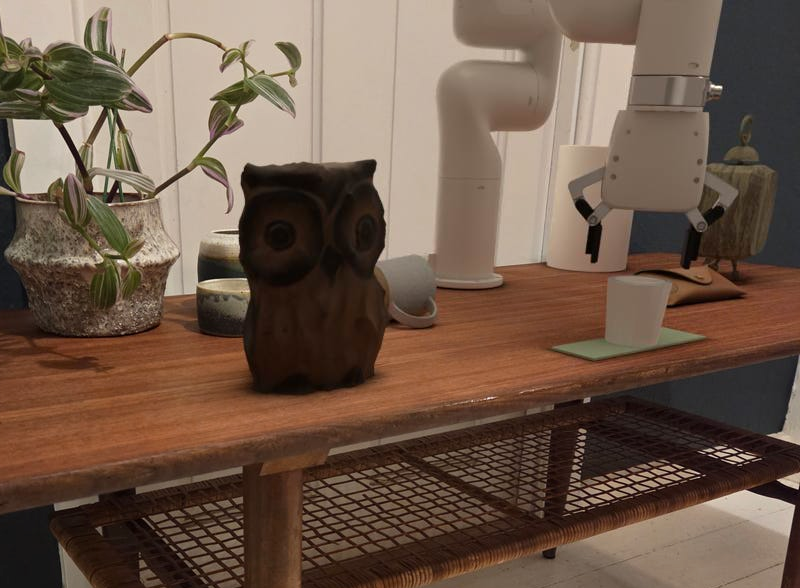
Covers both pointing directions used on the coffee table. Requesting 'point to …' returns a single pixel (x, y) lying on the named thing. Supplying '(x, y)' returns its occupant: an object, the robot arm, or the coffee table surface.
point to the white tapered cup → (635, 309)
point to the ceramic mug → (408, 289)
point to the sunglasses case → (695, 284)
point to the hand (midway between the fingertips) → (638, 264)
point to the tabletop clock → (739, 207)
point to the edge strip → (605, 349)
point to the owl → (312, 275)
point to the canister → (571, 225)
